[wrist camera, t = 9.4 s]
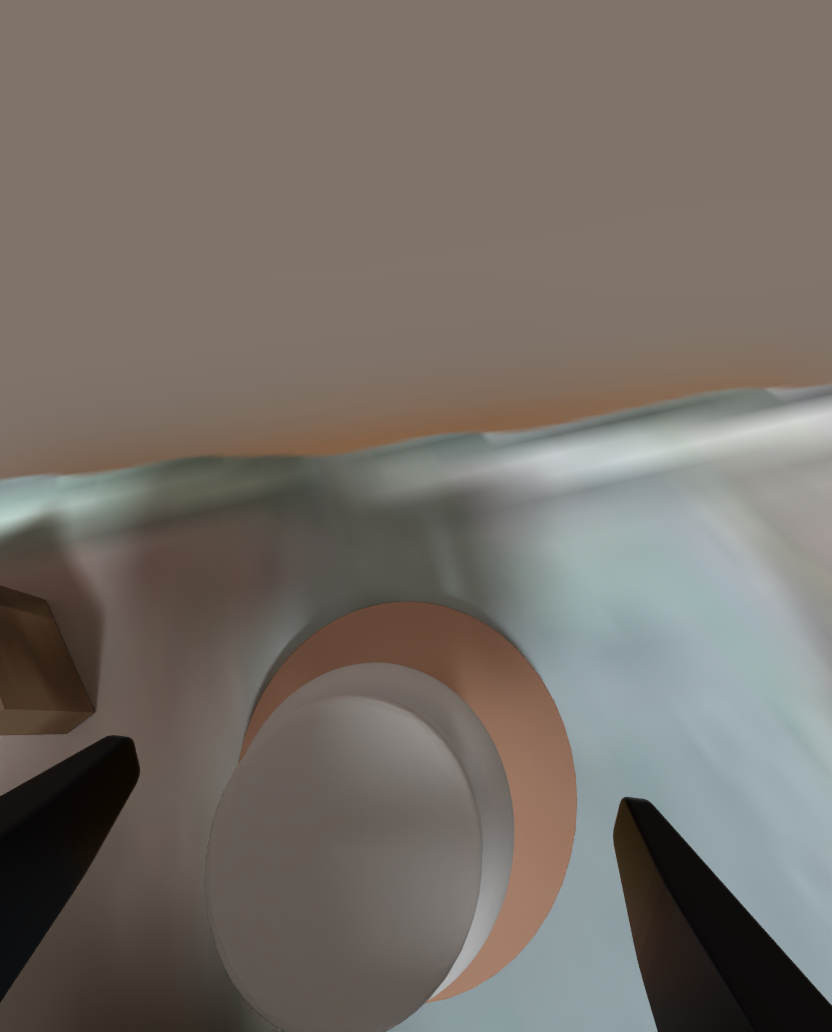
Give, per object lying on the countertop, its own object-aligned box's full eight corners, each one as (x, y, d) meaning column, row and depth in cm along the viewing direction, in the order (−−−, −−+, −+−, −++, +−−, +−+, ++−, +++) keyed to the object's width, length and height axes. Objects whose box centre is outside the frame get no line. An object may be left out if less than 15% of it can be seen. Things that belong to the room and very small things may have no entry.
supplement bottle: (393, 920, 13) (282, 1337, 4) (294, 765, 15) (75, 822, 6) (516, 782, 15) (632, 872, 6) (410, 657, 17) (370, 575, 8)
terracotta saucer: (644, 850, 14) (655, 857, 14) (318, 1088, 12) (310, 1110, 12) (460, 558, 19) (460, 552, 19) (206, 696, 17) (195, 695, 17)
